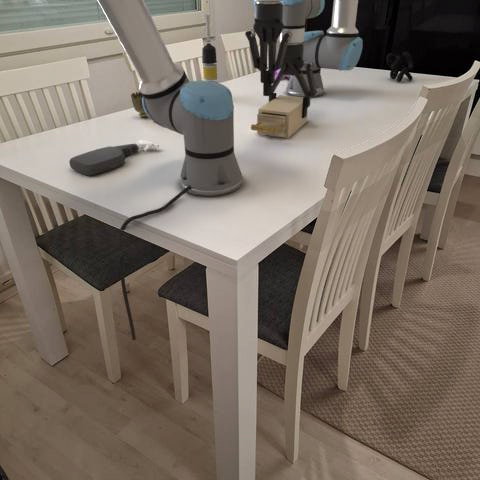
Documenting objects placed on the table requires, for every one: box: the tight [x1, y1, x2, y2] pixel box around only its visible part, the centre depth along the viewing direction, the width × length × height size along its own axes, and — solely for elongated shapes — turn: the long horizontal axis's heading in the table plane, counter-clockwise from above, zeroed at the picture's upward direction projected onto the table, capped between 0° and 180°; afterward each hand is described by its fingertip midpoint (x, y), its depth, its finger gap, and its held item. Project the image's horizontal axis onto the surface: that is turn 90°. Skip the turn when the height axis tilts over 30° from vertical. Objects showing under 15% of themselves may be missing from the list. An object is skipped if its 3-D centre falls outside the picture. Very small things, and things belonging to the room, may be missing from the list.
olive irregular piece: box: [130, 91, 149, 118], centre depth 157 cm, size 8×7×8 cm
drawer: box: [250, 113, 286, 138], centre depth 140 cm, size 23×9×6 cm, turn 154°
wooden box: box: [257, 94, 309, 139], centre depth 144 cm, size 18×10×8 cm, turn 154°
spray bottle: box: [68, 139, 160, 177], centre depth 124 cm, size 3×11×24 cm
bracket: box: [275, 69, 291, 81], centre depth 208 cm, size 13×6×7 cm, turn 143°
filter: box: [201, 14, 219, 83], centre depth 171 cm, size 6×6×30 cm
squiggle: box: [385, 51, 414, 83], centre depth 198 cm, size 11×10×15 cm
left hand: (267, 94), depth 128 cm, fingers closed
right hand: (288, 115), depth 148 cm, fingers closed on wooden box, 10 cm apart
